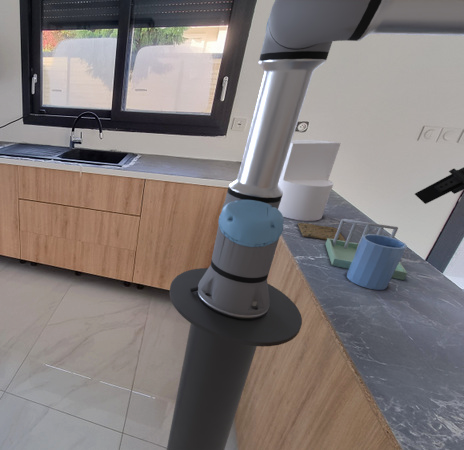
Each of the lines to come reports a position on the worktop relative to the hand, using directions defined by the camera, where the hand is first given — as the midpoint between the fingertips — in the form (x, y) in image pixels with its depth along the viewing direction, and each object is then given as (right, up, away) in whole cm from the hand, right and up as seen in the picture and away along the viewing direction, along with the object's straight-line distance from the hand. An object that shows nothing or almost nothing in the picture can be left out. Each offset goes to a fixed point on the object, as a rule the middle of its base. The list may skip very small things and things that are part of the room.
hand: (435, 193), depth 68 cm
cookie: (+9, -10, +41) cm, 44 cm away
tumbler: (-1, -22, +15) cm, 26 cm away
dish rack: (+7, -17, +24) cm, 31 cm away
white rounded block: (+14, -2, +59) cm, 61 cm away
